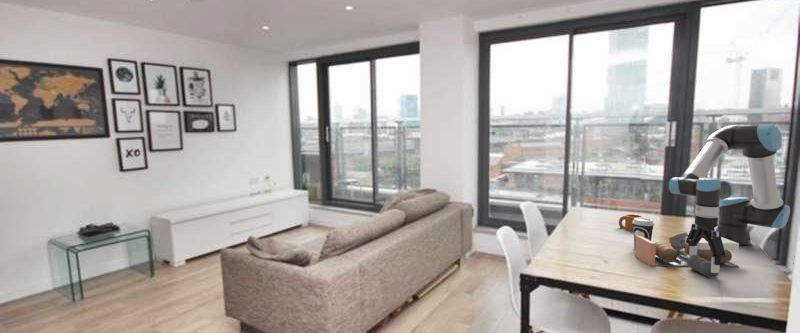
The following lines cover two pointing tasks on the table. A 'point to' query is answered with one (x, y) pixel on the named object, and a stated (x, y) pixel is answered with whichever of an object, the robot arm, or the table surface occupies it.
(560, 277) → the table surface
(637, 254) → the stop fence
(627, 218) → the mug
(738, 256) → the table surface
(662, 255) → the roller
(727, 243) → the slab
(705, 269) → the roller
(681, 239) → the mineral specimen
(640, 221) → the coffee cup
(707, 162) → the robot arm
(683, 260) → the roller bed
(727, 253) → the roller
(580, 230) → the table surface
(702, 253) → the roller
